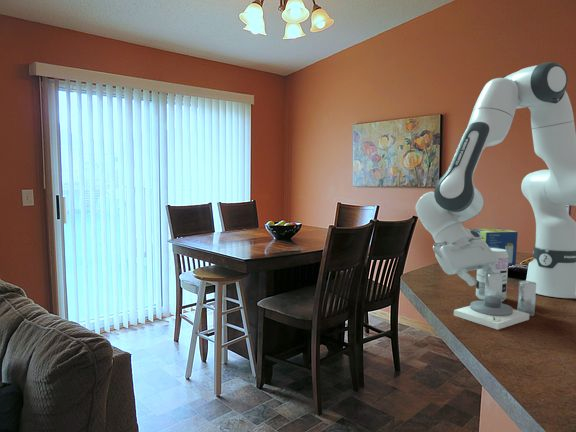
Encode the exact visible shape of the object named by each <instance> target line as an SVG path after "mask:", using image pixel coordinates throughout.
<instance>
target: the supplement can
mask: <svg viewBox="0 0 576 432" xmlns="http://www.w3.org/2000/svg"><path fill="white" fill-rule="evenodd" d="M490 249H491V250H492V251H493V253H494V254H495V256H496V258H497V262H496V263H494V264H493V265H492V266H493V269H494V273H500V274H503V282H502V299H501V303H502V302H503V303H504V301H505V300H506V299H507V288H508V273H509V272H508V271H509V270H508V257H509V255H508V253H507V251H506V250H505V249H500V248H490ZM486 273H487V272H486V271H484V270H483V269H477V270H476V279H475V280H476V281H477V283H476V284H475V285H476V286H475V296H476V297H477V299H478V300H480V301H484V298H485V279H486Z"/></svg>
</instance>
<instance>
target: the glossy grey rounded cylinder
mask: <svg viewBox="0 0 576 432" xmlns="http://www.w3.org/2000/svg"><path fill="white" fill-rule="evenodd" d="M502 282H503V274H500V273H494V272H487V273H486V279H485V298H484V300H483V301H484V305H485V306H487V307H490V308H501V303H502V302H501V299H502Z"/></svg>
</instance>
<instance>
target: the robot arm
mask: <svg viewBox="0 0 576 432" xmlns="http://www.w3.org/2000/svg"><path fill="white" fill-rule="evenodd" d="M567 74H568V73H567V71H566V69H565V68H564V67H563V66H562V65H561V64H560V63H558V62H555V61H550V62H549V61H548V62H542V63H539V64H537V65H532V66H528V67H525V68H521V69H520V70H518V71H515V72H512V73H510V74H508V75H504V76H502V77H496V78H492V79H491V80H489V81H487V82H486V83H485V84H484V86H483V88H482V90H481V92H480V94H479V95H478V98H477V100H476V101H475V104H474V106H473V108H472V112H471V115H470V118H469V121H468V123H467V127H466V129H465V131H464V133H463V135H462V136H461V138H460V141H459V143H458V146H457V148H456V150H455V152H454V155H453V158H452V160H451V162H450V165H449V166H448V168H447V170H446V172H445V173H443V175H442V176H441V177H440V178H439V180H438V181H437V182H436V184H435V187H434V191H428V192H426V193H424V194H422V195H421V197H419V198H418V200H416V201H417V202H416V203H415V213H416V215H417V217H418V220H419V221H420V223H421V224H422V225H423V227H424V229H425V230H426V231H427V232H429V234H431V237H432V239H433V240H434V242H435V243H433V246H432V250H433V252H434V255H435V258H436V260H437V262H438V264H439V266H440V268H441V269H442V270H443V272H444V273H446V275H449V276H450V275H454V274H455V275H456V274H457V275H458V276H459V278H460V279H462V280H463V281H465V282H466V284H468V286H469V287H473V286H475V285H476V283H477V281H476V280H477V279H476V278H475V276H472V275H471V274H470V273H468V272H472V271H477V269H483V270H484V271H486V272H494V269H493V266H492V265H493V264H494V263H496V262H497V258H496V256H495V254H494V253H493V251H492V250H491V249H490V247H489V246H488V245H487V244H486V243H485V242H484V241H483V240H481V238H482V236H481V235H480V233H479V232H476V231H472V230H469V229H470V228H468V227H464V226H463V224H462V223H465V222H466V221H469V220H471V219H473V218H475V217H476V216H478V215H480V213H481V212H482V210H483V208H484V206H485V200H484V199H485V198H484V197H483V194H482V193H481V191H479V190H478V188H476V186H475V185H474V180H473V179H474V173H475V171H476V169H477V165H478V163H479V160H480V158H481V156H482V153H483V151H484V150H485V148H487V147H493V146H496V145H499V144H501V143H502V142H503V141H504V140H505V139H506V136H507V135H508V133H509V131H510V129H511V127H512V126H511V125H512V123H513V120H514V118H515V117H514V116H515V114H516V110H517V109H524V108H528V109H529V111H530V125H531V126H530V127H531V135H532V143H533V149H534V150H533V151H534V153H535V155H536V156H537V157H539V158H541V159H542V161H543V162H545V165H546V166H547V168H548V169H540V170H536V171H533V172H529V173H528V174H527V175H525V176H524V177H523V179H522V181H521V185H520V188H521V193H522V195H523V197H525V199H527V201H528V202H529V204H530V205H531V206H530V207H531V209H532V211H533V214H534V218H535V245H534V246H533V250H532V258H533V259H532V260H531V261H530V262H528V268H527V272H526V273H527V274H526V279H525V281H531V282H535V283H536V294H537V295H541V296H545V297H553V298H557V299H558V298H561V299H576V221H575V220H574V219H573V218H572V217H571V216H570V214H569V212H568V209H567V206H575V207H576V125H575V119H574V117H575V116H574V112H573V107H572V103H571V100H570V97H569V95H568V92H567V91H566V89H567V88H568V75H567Z"/></svg>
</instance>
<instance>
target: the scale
mask: <svg viewBox="0 0 576 432" xmlns="http://www.w3.org/2000/svg"><path fill="white" fill-rule="evenodd" d="M453 316H454V317H457V318H460V319H463V320H467V321H469V322H473V323H476V324H477V325H478V324H479V325H481V326H485V327H488V328H491V329H495V330H497V331H498V330H502V329H504V328H507V327H510V326H513V325H516V324H519V323H523V322H525V321H529V320H530V316H529V314H528V313H525V312H521V311H517V309H514V307H512V306H511V305H509V304H506V303H504V302H503V303H502V302H501V308H490V307H487V306H485V305H484V300H474V301H471V302H470V304H469V305H468V306H463V307H460V308H456V309H454V310H453Z"/></svg>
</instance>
